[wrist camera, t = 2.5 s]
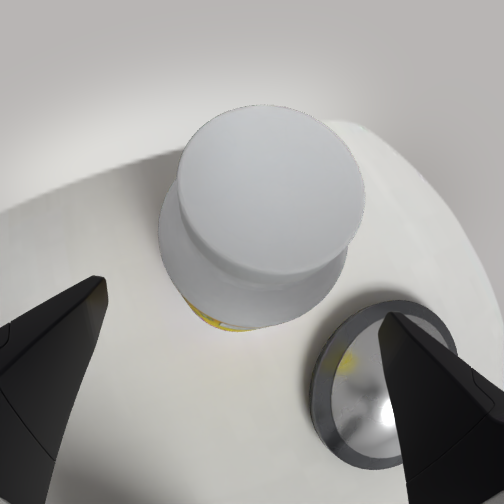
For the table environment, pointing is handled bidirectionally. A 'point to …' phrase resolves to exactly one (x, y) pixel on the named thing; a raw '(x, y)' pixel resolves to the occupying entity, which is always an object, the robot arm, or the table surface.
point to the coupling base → (363, 387)
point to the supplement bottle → (260, 217)
